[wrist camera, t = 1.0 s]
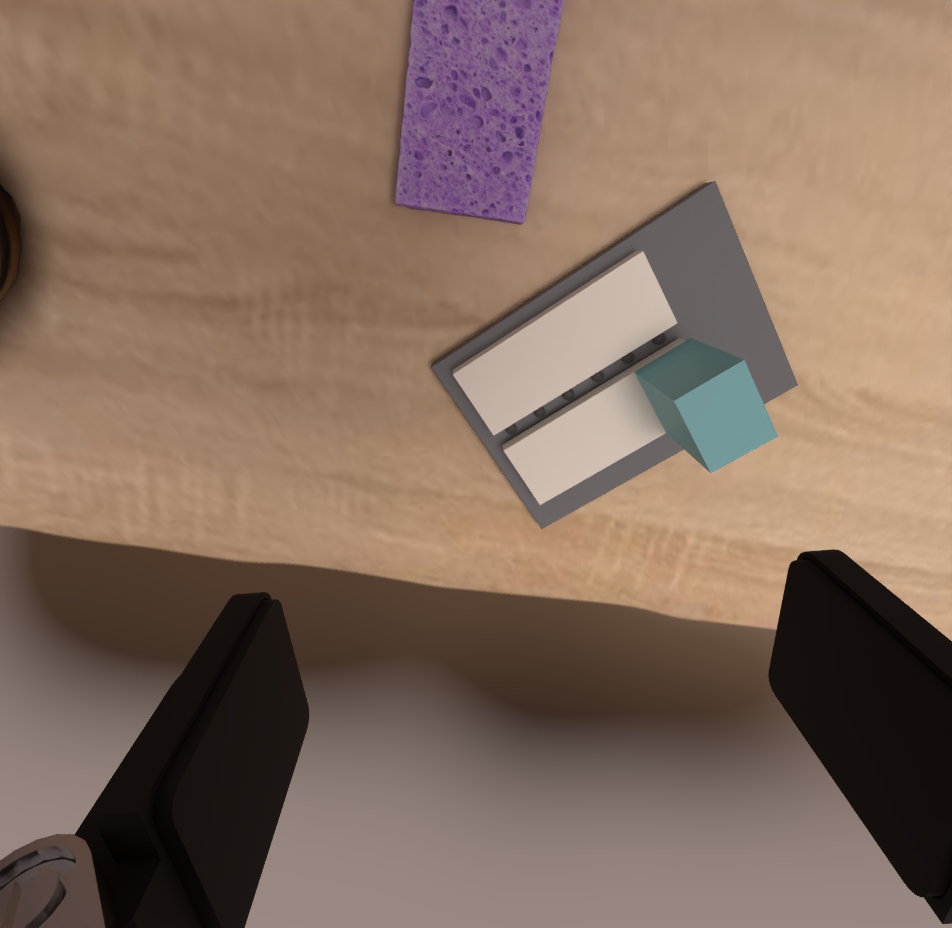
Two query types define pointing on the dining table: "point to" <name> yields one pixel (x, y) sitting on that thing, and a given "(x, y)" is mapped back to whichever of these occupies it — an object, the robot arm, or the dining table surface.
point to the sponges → (475, 105)
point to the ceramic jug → (8, 242)
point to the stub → (647, 418)
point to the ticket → (567, 344)
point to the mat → (698, 317)
